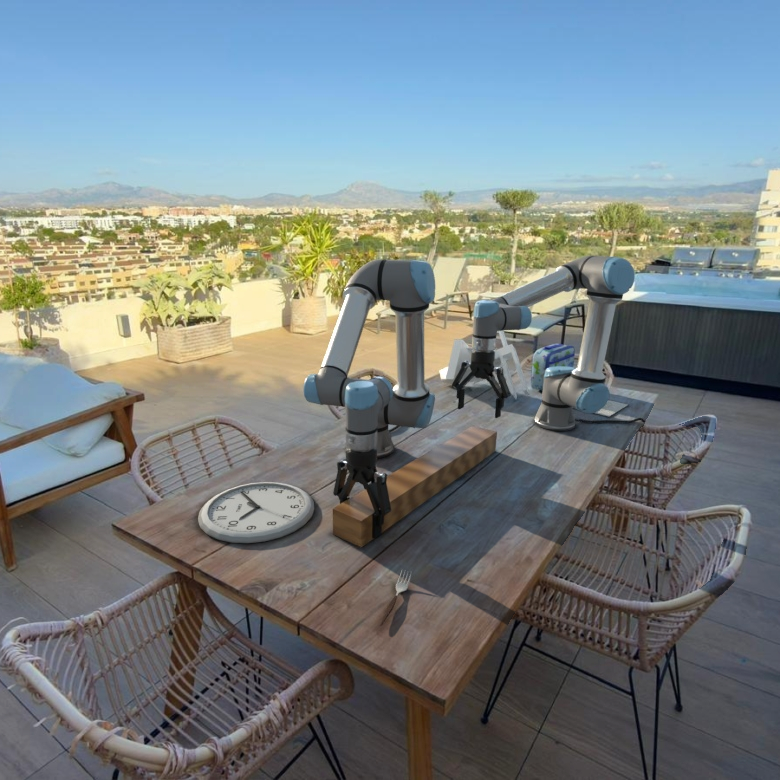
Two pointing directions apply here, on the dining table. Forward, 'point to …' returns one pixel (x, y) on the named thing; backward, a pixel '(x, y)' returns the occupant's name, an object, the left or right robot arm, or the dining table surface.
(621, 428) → the dining table surface
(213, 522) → the wall clock
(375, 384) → the left robot arm
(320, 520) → the dining table surface
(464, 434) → the wide beam
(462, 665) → the dining table surface
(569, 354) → the lunch box
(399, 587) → the fork
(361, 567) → the dining table surface
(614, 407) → the invitation card
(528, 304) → the right robot arm
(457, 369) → the white plastic object
